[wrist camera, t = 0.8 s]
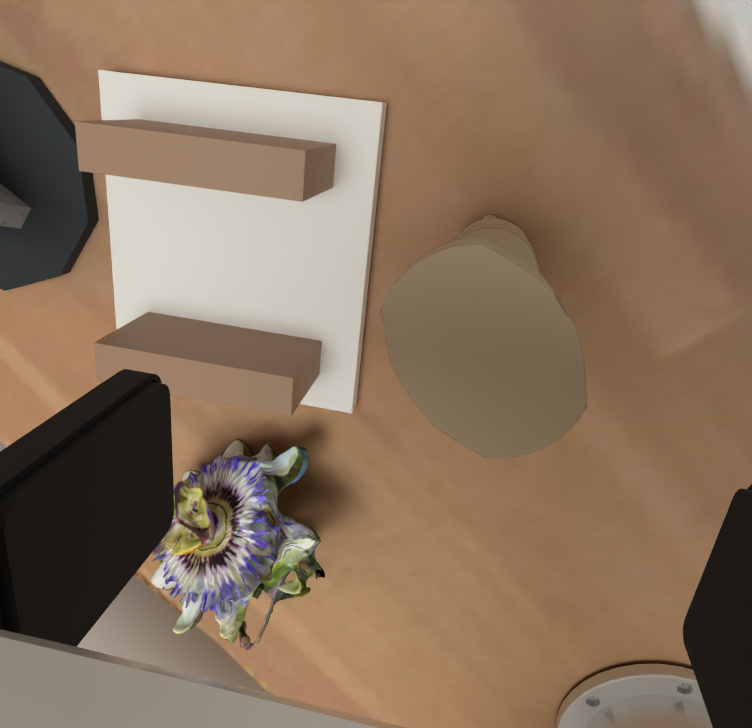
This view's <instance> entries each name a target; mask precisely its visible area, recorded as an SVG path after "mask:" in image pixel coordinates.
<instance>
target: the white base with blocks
mask: <svg viewBox="0 0 752 728" xmlns="http://www.w3.org/2000/svg"><path fill="white" fill-rule="evenodd" d="M98 73H99V87H100V101H101V115H102V120H97V121H75V130H76V142H77V153H78V165H79V171H83V172H91V173H98V174H105V175H106V186H107V200H108V215H109V229H110V243H111V257H112V271H113V285H114V300H115V314H116V328H117V330H115V331H114V332H112V333H110V334H108V335H107V336H105V337H103V338H102V339H100V340H98V341H96V342H95V343H94V348H95V360H96V371H97V380H99V381H106V380H107V379H109V378H110V377H112V376H113V375H115V374H116V373H118V372H119V371H121V370H123V369H129V370H135V371H140V372H146V373H151V374H157V375H158V376H159V377H160V379H161V381H162V384H166V385H167V386H168V388H169V391H170V394H174V395H180V396H185V397H190V398H196V399H201V400H206V401H212V402H217V403H223V404H228V405H233V406H239V407H244V408H249V409H255V410H260V411H266V412H271V413H276V414H282V415H287V416H292V414H293V413H294V411H295V410H296V408H297V407H298V405H299V404H304V405H309V406H314V407H320V408H325V409H331V410H336V411H342V412H347V413H352V412H353V410H354V408H355V406H356V403H357V393H358V383H359V373H360V363H361V353H362V344H363V334H364V324H365V314H366V304H367V294H368V285H369V275H370V265H371V255H372V245H373V235H374V226H375V216H376V206H377V196H378V186H379V176H380V167H381V157H382V147H383V137H384V127H385V117H386V108H387V103H385V102H376V101H367V100H358V99H350V98H341V97H332V96H323V95H315V94H306V93H297V92H289V91H280V90H271V89H262V88H254V87H245V86H236V85H227V84H219V83H210V82H201V81H193V80H184V79H175V78H166V77H158V76H149V75H140V74H131V73H123V72H114V71H104V70H98Z"/></svg>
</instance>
